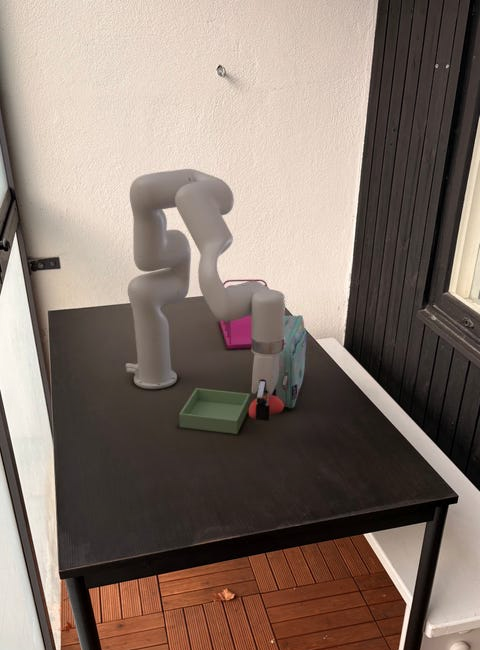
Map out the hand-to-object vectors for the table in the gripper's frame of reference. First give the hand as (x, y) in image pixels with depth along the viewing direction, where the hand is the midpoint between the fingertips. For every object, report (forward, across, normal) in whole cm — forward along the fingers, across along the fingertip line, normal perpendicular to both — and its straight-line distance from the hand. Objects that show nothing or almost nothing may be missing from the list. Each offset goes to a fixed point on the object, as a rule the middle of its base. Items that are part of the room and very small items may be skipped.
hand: (266, 410), depth 158 cm
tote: (+8, -8, -15) cm, 19 cm away
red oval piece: (+1, 0, 0) cm, 1 cm away
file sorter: (+8, -66, -19) cm, 70 cm away
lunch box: (+8, -25, 0) cm, 26 cm away
